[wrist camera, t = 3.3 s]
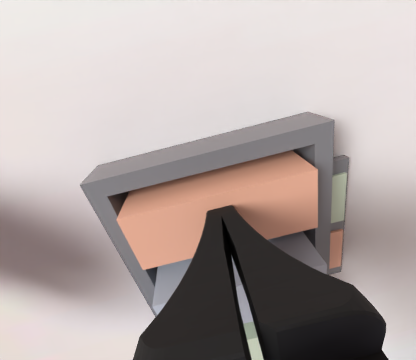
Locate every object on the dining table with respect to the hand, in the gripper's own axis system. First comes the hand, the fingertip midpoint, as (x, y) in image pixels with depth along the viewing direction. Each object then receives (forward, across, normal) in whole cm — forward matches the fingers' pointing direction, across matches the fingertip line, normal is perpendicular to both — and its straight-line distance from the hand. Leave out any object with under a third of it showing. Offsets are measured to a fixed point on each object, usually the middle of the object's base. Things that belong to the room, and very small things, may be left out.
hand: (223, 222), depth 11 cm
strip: (+4, -8, +6) cm, 10 cm away
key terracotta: (+3, 0, 0) cm, 3 cm away
